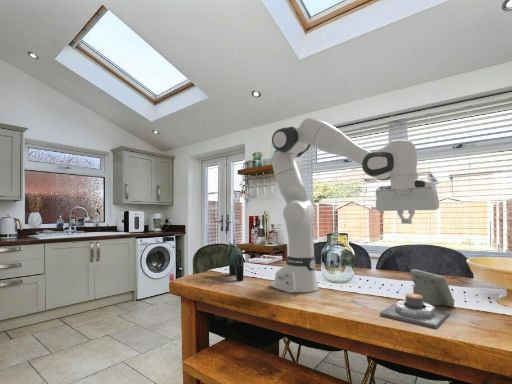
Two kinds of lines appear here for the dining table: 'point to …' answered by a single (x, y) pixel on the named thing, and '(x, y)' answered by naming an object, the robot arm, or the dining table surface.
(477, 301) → the dining table surface
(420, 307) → the dark grey cylinder
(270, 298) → the dining table surface
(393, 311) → the flat square base plate
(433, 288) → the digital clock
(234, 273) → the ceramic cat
